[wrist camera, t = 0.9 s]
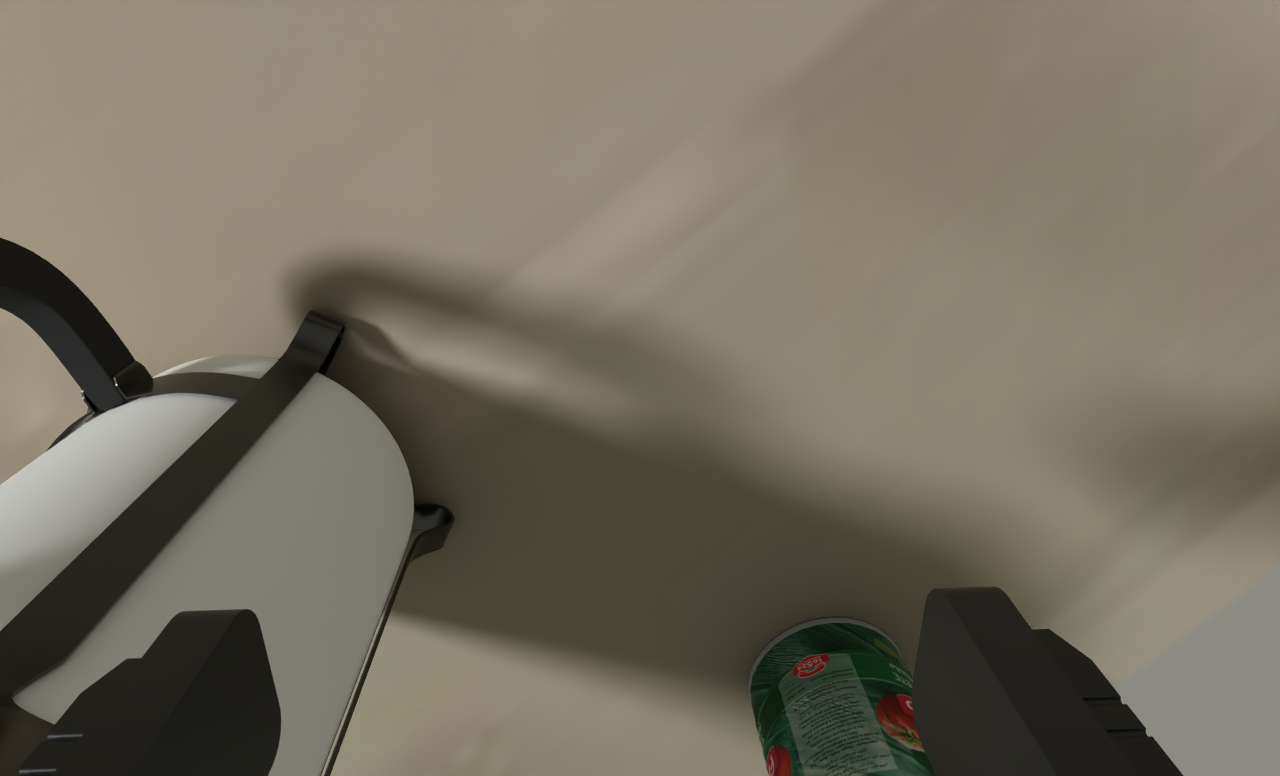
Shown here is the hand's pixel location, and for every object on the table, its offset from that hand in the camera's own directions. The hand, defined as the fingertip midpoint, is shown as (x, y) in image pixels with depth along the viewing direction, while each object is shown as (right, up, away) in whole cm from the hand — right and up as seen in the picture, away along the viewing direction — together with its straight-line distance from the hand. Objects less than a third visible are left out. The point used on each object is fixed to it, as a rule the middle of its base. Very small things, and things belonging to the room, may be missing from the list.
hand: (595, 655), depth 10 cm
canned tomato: (+10, -11, +31) cm, 34 cm away
